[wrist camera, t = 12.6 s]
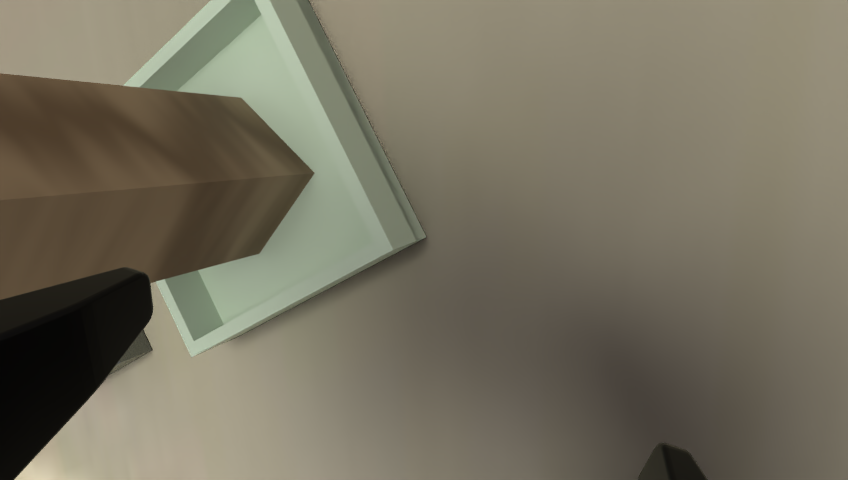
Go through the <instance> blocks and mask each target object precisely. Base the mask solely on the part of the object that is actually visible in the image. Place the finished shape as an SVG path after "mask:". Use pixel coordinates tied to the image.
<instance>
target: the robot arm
mask: <svg viewBox="0 0 848 480" xmlns="http://www.w3.org/2000/svg"><path fill="white" fill-rule="evenodd" d="M152 313H153V302H152V294H151V285H150V279H149V277H148V275H147V274H146V273H144V272H141V271H138V270H135V269H132V268H128V267H122V268H118V269H114V270H110V271H107V272H103V273H99V274H95V275H92V276H88V277H84V278H80V279H77V280H73V281H69V282H65V283H61V284H58V285H54V286H50V287H46V288H43V289H39V290H35V291H31V292H28V293H24V294H20V295H16V296H13V297H9V298H5V299H1V300H0V480H14V479H15V478H16V477H17V476H18V475H19V474H20V473H21V472H22V471H23V469H24V468H25V467H26V466H27V465H28V464H29V463H30V462H31V461H32V460H33V459H34V458H35V456H36V455H37V454H38V453H39V452H40V451H41V450H42V449H43V448H44V447H45V446H46V445H47V444H48V442H49V441H50V440H51V439H52V438H53V437H54V436H55V435H56V434H57V433H58V432H59V431H60V429H61V428H62V427H63V426H64V425H65V424H66V423H67V422H68V421H69V420H70V419H71V418H72V417H73V415H74V414H75V413H76V412H77V411H78V410H79V409H80V408H81V407H82V406H83V405H84V404H85V402H86V401H87V400H88V399H89V398H90V397H91V396H92V395H93V394H94V392H95V391H96V390H97V389H98V388H99V386H100V385H101V384H102V383H103V381H104V380H105V379H106V378H107V376H108V375H109V374H110V372H111V371H112V370H113V369H114V367H115V366H116V365H117V363H118V362H119V361H120V359H121V358H122V357H123V355H124V354H125V353H126V351H127V350H128V349H129V347H130V346H131V345H132V344H133V342H134V341H135V340H136V338H137V337H138V336H139V334H140V333H141V332H142V330H143V329H144V328H145V326H146V325H147V324H148V322H149V321H150V319H151V316H152ZM638 480H708V479H707V478H706V476H705V475H704V473H703V472H702V470H701V469H700V467H699V466H698V464H697V463H696V461H695V460H694V458H693V457H692V456H691V454H690V453H689V452H688V451H686V450H684V449H682V448H679V447H676V446H673V445H669V444H666V443H660V444H658V445H657V446H656V448H655V449H654V451H653V453H652V454H651V456H650V458H649V459H648V461H647V463H646V465H645V466H644V468H643V470H642V472H641V473H640V475H639V478H638Z"/></svg>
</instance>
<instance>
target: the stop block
mask: <svg viewBox="0 0 848 480" xmlns="http://www.w3.org/2000/svg"><path fill="white" fill-rule="evenodd" d="M313 175H314V172H313V171H312V170H311V169H310V168H309V167H308V166H307V165H306V163H305V162H304V161H303V160H302V159H301V158H300V157H299V156H298V155H297V154H296V153H295V152H294V151H293V150H292V149H291V148H290V147H289V146H288V145H287V144H286V143H285V142H284V141H283V140H282V139H281V138H280V137H279V136H278V135H277V134H276V133H275V132H274V131H273V130H272V129H271V128H270V127H269V126H268V125H267V123H266V122H265V121H264V120H263V119H262V118H261V117H260V116H259V115H258V114H257V113H256V112H255V111H254V110H253V109H252V108H251V107H250V106H249V105H248V104H247V103H246V102H245V101H244V100H243V99H242V98H239V97H229V96H219V95H209V94H199V93H189V92H179V91H170V90H160V89H150V88H140V87H130V86H120V85H110V84H100V83H90V82H80V81H70V80H60V79H50V78H40V77H30V76H20V75H10V74H0V300H1V299H5V298H9V297H13V296H16V295H20V294H24V293H28V292H31V291H35V290H39V289H43V288H46V287H50V286H54V285H58V284H61V283H65V282H69V281H73V280H77V279H80V278H84V277H88V276H92V275H95V274H99V273H103V272H107V271H110V270H114V269H118V268H122V267H128V268H132V269H135V270H138V271H141V272H144V273H146V274H147V275H148V277H149V279H150V283H152V282H156V281H160V280H163V279H167V278H171V277H174V276H178V275H182V274H186V273H189V272H193V271H197V270H201V269H204V268H208V267H212V266H215V265H219V264H223V263H227V262H230V261H234V260H238V259H242V258H245V257H249V256H253V255H256V254H260V252H261V251H262V249H263V248H264V246H265V245H266V243H267V242H268V240H269V239H270V237H271V236H272V235H273V233H274V232H275V230H276V229H277V227H278V226H279V224H280V223H281V221H282V220H283V219H284V217H285V216H286V214H287V213H288V211H289V210H290V208H291V207H292V205H293V204H294V203H295V201H296V200H297V198H298V197H299V195H300V194H301V192H302V191H303V189H304V188H305V186H306V185H307V184H308V182H309V181H310V179H311V178H312V176H313Z"/></svg>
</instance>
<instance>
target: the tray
mask: <svg viewBox="0 0 848 480" xmlns="http://www.w3.org/2000/svg"><path fill="white" fill-rule="evenodd" d="M123 86H130V87H140V88H150V89H160V90H170V91H179V92H189V93H199V94H209V95H219V96H229V97H239V98H242V99H243V100H244V101H245V102H246V103H247V104H248V105H249V106H250V107H251V108H252V109H253V110H254V111H255V112H256V113H257V114H258V115H259V116H260V117H261V118H262V119H263V120H264V121H265V122H266V123H267V125H268V126H269V127H270V128H271V129H272V130H273V131H274V132H275V133H276V134H277V135H278V136H279V137H280V138H281V139H282V140H283V141H284V142H285V143H286V144H287V145H288V146H289V147H290V148H291V149H292V150H293V151H294V152H295V153H296V154H297V155H298V156H299V157H300V158H301V159H302V160H303V161H304V162H305V163H306V165H307V166H308V167H309V168H310V169H311V170H312V171H313V172H314V175H313V176H312V178H311V179H310V181H309V182H308V184H307V185H306V186H305V188H304V189H303V191H302V192H301V194H300V195H299V197H298V198H297V200H296V201H295V203H294V204H293V205H292V207H291V208H290V210H289V211H288V213H287V214H286V216H285V217H284V219H283V220H282V221H281V223H280V224H279V226H278V227H277V229H276V230H275V232H274V233H273V235H272V236H271V237H270V239H269V240H268V242H267V243H266V245H265V246H264V248H263V249H262V251H261V252H260V254H256V255H253V256H249V257H245V258H242V259H238V260H234V261H230V262H227V263H223V264H219V265H215V266H212V267H208V268H204V269H201V270H197V271H193V272H189V273H186V274H182V275H178V276H174V277H171V278H167V279H163V280H160V281H156V283H157V285H158V288H159V290H160V292H161V294H162V296H163V298H164V300H165V302H166V304H167V307H168V309H169V311H170V313H171V315H172V317H173V319H174V321H175V323H176V326H177V328H178V330H179V332H180V334H181V336H182V338H183V340H184V343H185V345H186V347H187V349H188V351H189V353H190V355H191V357H193V356H196V355H198V354H200V353H202V352H205V351H207V350H209V349H211V348H214V347H216V346H218V345H220V344H223V343H225V342H227V341H229V340H232V339H234V338H236V337H238V336H240V335H242V334H244V333H246V332H248V331H250V330H252V329H253V328H255V327H257V326H259V325H261V324H263V323H265V322H267V321H269V320H270V319H272V318H274V317H276V316H278V315H280V314H282V313H284V312H286V311H288V310H289V309H291V308H293V307H295V306H297V305H299V304H301V303H303V302H305V301H306V300H308V299H310V298H312V297H314V296H316V295H318V294H320V293H322V292H323V291H325V290H327V289H329V288H331V287H333V286H335V285H337V284H339V283H340V282H342V281H344V280H346V279H348V278H350V277H352V276H354V275H356V274H358V273H359V272H361V271H363V270H365V269H367V268H369V267H371V266H373V265H375V264H376V263H378V262H380V261H382V260H384V259H386V258H388V257H390V256H392V255H393V254H395V253H397V252H399V251H401V250H403V249H405V248H407V247H409V246H410V245H412V244H414V243H416V242H418V241H420V240H422V239H424V238H426V235H425V233H424V231H423V229H422V227H421V225H420V223H419V221H418V219H417V217H416V215H415V213H414V211H413V209H412V207H411V205H410V203H409V201H408V199H407V197H406V195H405V193H404V191H403V189H402V187H401V185H400V183H399V181H398V179H397V177H396V175H395V173H394V171H393V169H392V167H391V165H390V163H389V161H388V159H387V157H386V155H385V153H384V151H383V149H382V147H381V145H380V143H379V141H378V139H377V137H376V135H375V133H374V131H373V129H372V127H371V125H370V123H369V121H368V119H367V117H366V115H365V113H364V111H363V109H362V107H361V105H360V103H359V101H358V99H357V97H356V95H355V93H354V91H353V89H352V87H351V85H350V83H349V81H348V79H347V77H346V75H345V73H344V71H343V69H342V67H341V65H340V63H339V61H338V59H337V57H336V55H335V53H334V51H333V49H332V47H331V45H330V43H329V41H328V39H327V37H326V35H325V33H324V31H323V29H322V27H321V25H320V23H319V21H318V19H317V17H316V15H315V13H314V11H313V9H312V7H311V5H310V3H309V1H308V0H211V1H210V2H209V3H208V4H207V5H206V6H204V7H203V8H202V9H201V10H200V11H199V12H198V13H197V14H196V15H195V16H194V17H193V18H192V19H191V20H190V21H189V22H188V23H187V24H186V25H185V26H184V27H183V28H182V29H181V30H180V31H179V32H178V33H177V34H176V35H175V36H174V37H173V38H172V39H171V40H170V41H169V42H168V43H166V44H165V45H164V46H163V47H162V48H161V49H160V50H159V51H158V52H157V53H156V54H155V55H154V56H153V57H152V58H151V59H150V60H149V61H148V62H147V63H146V64H145V65H144V66H143V67H142V68H141V69H140V70H139V71H138V72H137V73H136V74H135V75H134V76H133V77H132V78H131V79H129V80H128V81H127V82H126V83H125V84H124V85H123Z"/></svg>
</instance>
